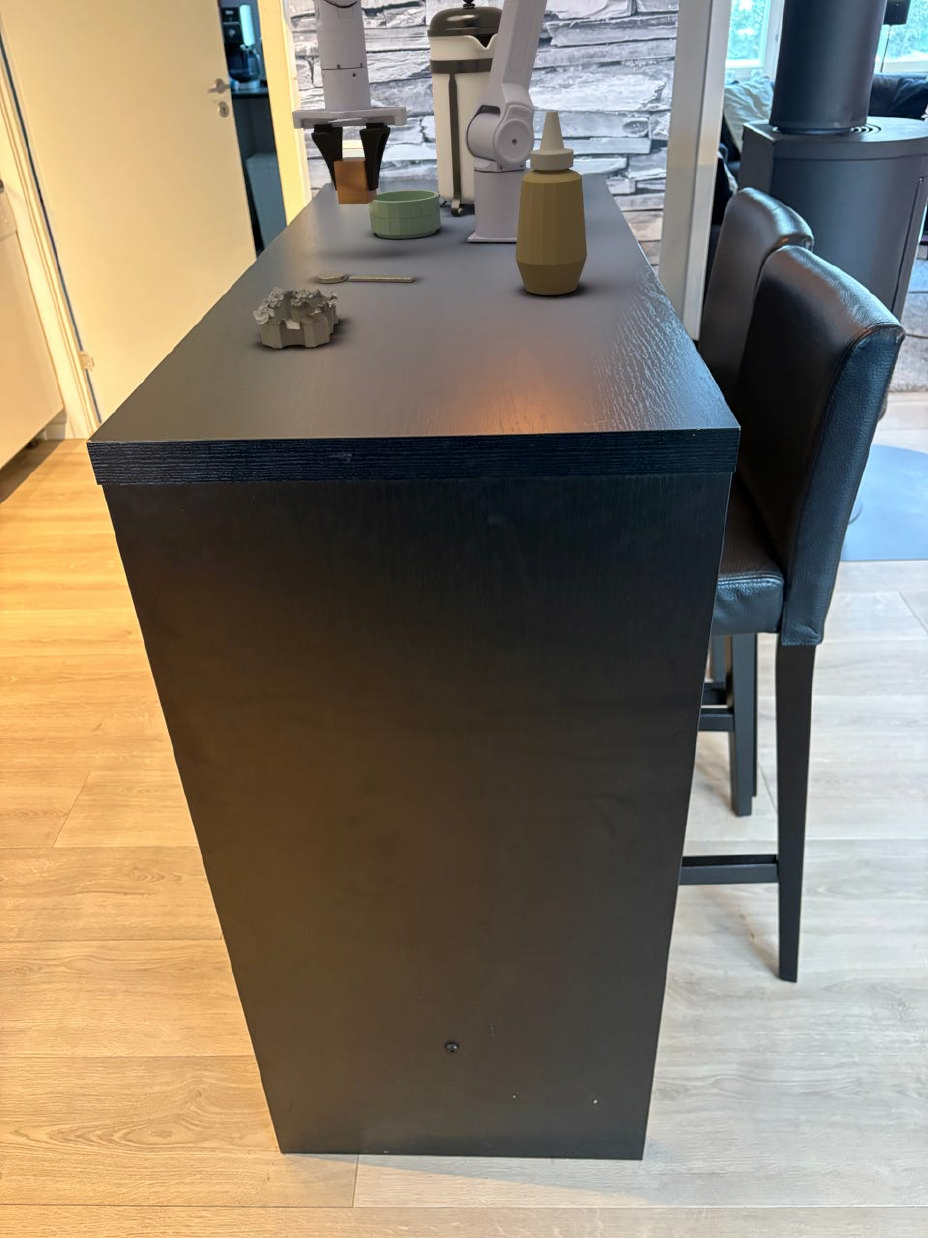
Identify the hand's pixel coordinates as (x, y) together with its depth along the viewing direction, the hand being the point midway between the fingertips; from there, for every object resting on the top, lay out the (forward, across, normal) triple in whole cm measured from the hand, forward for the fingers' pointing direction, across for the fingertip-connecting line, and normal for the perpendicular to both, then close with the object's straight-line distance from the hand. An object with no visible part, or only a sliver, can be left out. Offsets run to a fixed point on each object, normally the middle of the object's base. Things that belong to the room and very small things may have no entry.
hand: (356, 189), depth 121 cm
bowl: (+8, +1, +16) cm, 18 cm away
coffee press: (+9, +6, +36) cm, 37 cm away
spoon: (+8, +4, -12) cm, 15 cm away
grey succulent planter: (+8, +5, -34) cm, 36 cm away
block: (+1, 0, 0) cm, 1 cm away
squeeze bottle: (+9, +28, -15) cm, 33 cm away
